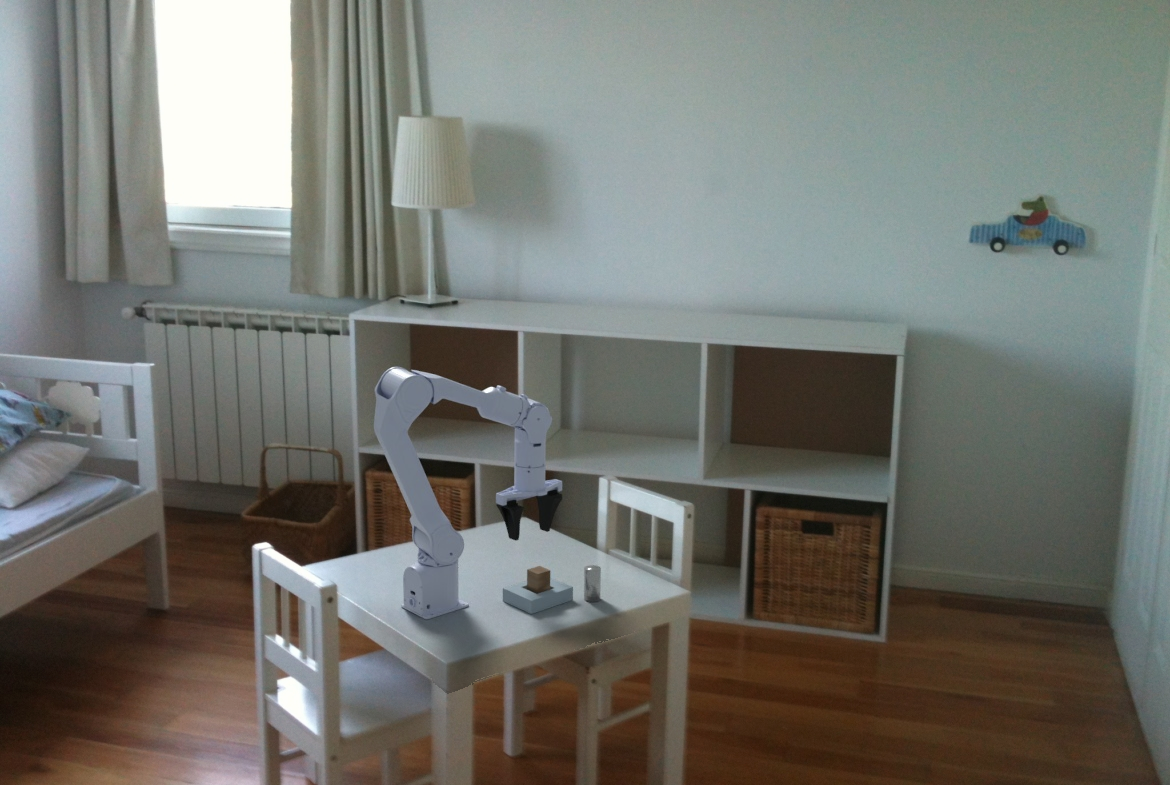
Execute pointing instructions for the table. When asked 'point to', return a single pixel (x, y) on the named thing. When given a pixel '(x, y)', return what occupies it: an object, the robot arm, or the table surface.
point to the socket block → (537, 596)
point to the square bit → (538, 579)
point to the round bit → (592, 583)
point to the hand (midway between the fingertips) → (529, 534)
